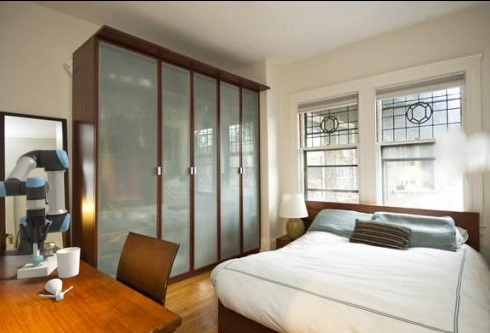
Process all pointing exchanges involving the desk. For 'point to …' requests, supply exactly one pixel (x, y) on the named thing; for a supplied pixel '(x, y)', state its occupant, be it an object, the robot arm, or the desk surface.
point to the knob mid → (45, 255)
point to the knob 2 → (49, 247)
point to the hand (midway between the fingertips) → (36, 256)
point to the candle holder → (68, 262)
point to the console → (38, 268)
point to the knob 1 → (36, 260)
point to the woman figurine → (55, 289)
